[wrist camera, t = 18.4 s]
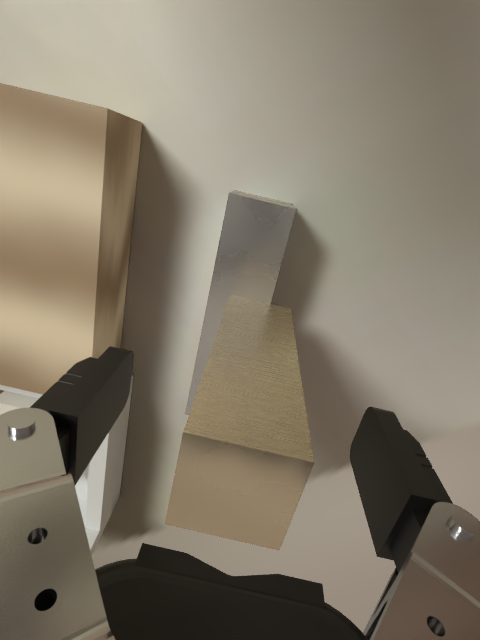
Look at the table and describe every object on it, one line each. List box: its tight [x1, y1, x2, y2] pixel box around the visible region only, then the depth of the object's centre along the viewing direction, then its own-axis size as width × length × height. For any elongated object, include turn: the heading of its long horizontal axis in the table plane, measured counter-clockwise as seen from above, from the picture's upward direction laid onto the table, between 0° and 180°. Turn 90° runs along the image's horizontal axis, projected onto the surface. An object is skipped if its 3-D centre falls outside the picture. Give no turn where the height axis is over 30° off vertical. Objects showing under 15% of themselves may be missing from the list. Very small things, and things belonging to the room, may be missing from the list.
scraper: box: [165, 190, 314, 550], centre depth 15 cm, size 4×12×13 cm, turn 167°
